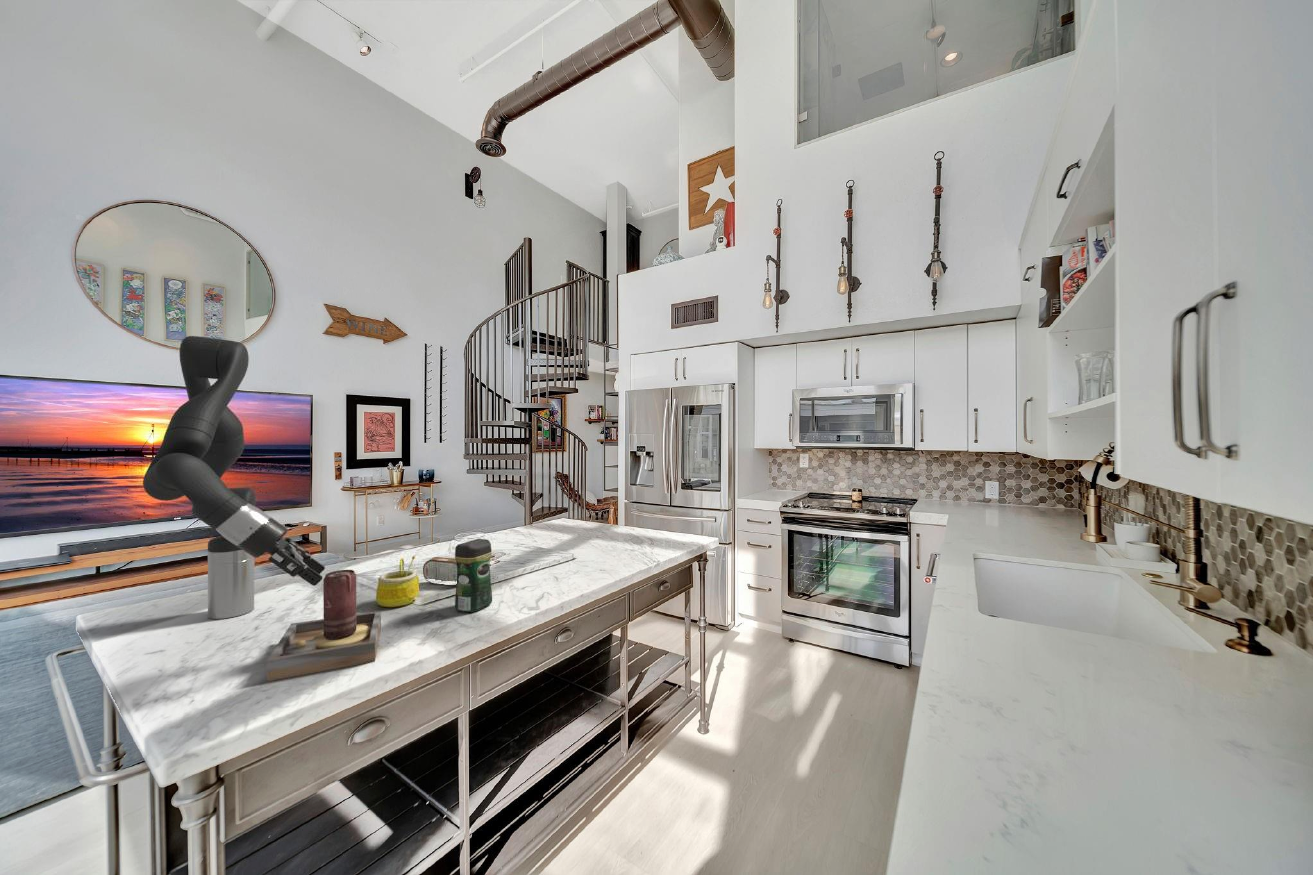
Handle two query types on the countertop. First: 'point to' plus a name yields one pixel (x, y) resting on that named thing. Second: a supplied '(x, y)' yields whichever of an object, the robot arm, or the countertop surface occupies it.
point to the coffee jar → (473, 575)
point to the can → (339, 604)
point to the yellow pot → (397, 587)
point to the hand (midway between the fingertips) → (320, 576)
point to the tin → (440, 569)
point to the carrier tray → (323, 648)
